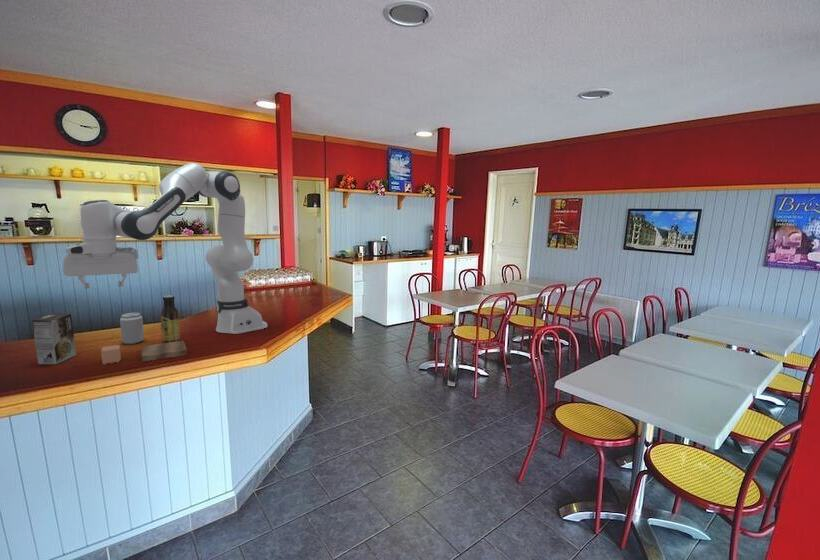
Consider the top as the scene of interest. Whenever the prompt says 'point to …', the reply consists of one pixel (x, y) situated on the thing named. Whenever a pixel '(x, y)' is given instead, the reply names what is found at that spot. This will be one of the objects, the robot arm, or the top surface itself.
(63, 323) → the coffee box
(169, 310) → the sauce bottle
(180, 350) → the serving board
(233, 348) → the top surface
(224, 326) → the robot arm
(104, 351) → the cube
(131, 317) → the can
